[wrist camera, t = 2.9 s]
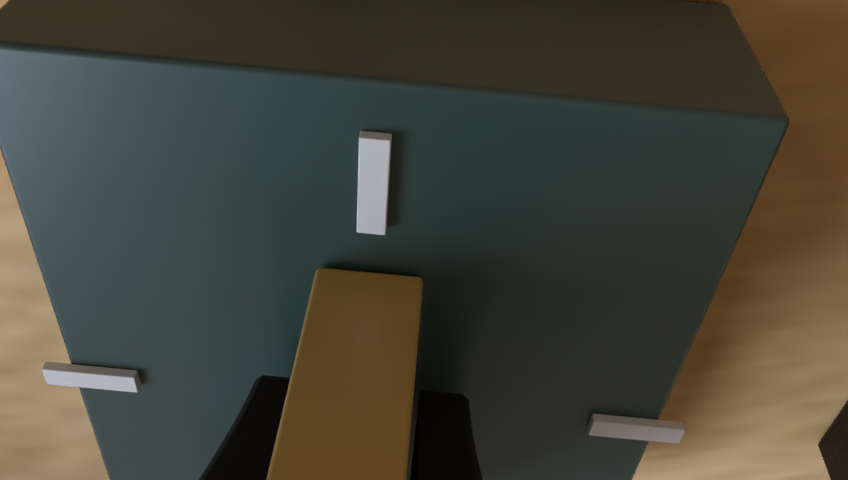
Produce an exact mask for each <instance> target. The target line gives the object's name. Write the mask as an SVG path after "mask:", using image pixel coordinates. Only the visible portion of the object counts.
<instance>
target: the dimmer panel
mask: <svg viewBox="0 0 848 480" xmlns="http://www.w3.org/2000/svg"><path fill="white" fill-rule="evenodd" d="M788 124H789V118H788V116H787V114H786V112H785V110H784V109H783V107H782V105H781V103H780V101H779V99H778V97H777V96H776V94H775V92H774V90H773V88H772V86H771V84H770V83H769V81H768V79H767V77H766V75H765V73H764V71H763V70H762V68H761V66H760V64H759V62H758V60H757V58H756V57H755V55H754V53H753V51H752V49H751V47H750V45H749V44H748V42H747V40H746V38H745V36H744V34H743V32H742V31H741V29H740V27H739V25H738V23H737V21H736V19H735V18H734V16H733V14H732V12H731V10H730V8H729V7H728V6H726V5H725V4H715V3H704V2H694V1H684V0H9V1H8V2H7V3H6V4H5V5H4V6H3V7H2V8H0V149H1V152H2V155H3V158H4V161H5V164H6V167H7V170H8V173H9V176H10V179H11V182H12V185H13V188H14V191H15V194H16V197H17V200H18V203H19V206H20V209H21V212H22V215H23V218H24V221H25V224H26V227H27V230H28V234H29V237H30V240H31V243H32V246H33V249H34V252H35V255H36V258H37V261H38V264H39V267H40V270H41V273H42V276H43V279H44V282H45V285H46V288H47V291H48V294H49V297H50V300H51V303H52V306H53V309H54V312H55V315H56V318H57V321H58V324H59V327H60V330H61V333H62V336H63V339H64V342H65V345H66V348H67V352H68V355H69V358H70V361H71V364H65V363H54V362H45V364H44V366H43V368H42V372H43V374H44V377H45V380H46V383H47V384H51V385H62V386H73V387H79V388H80V391H81V394H82V397H83V400H84V403H85V406H86V409H87V412H88V415H89V418H90V421H91V424H92V427H93V430H94V433H95V436H96V439H97V442H98V445H99V448H100V451H101V454H102V457H103V460H104V463H105V466H106V469H107V473H108V476H109V479H110V480H199V478H200V477H201V475H202V474H203V472H204V471H205V469H206V468H207V466H208V464H209V463H210V461H211V460H212V458H213V456H214V455H215V453H216V451H217V450H218V448H219V446H220V445H221V443H222V441H223V440H224V438H225V437H226V435H227V433H228V431H229V430H230V428H231V426H232V424H233V423H234V421H235V419H236V417H237V415H238V414H239V412H240V410H241V408H242V406H243V404H244V402H245V400H246V398H247V396H248V394H249V392H250V390H251V388H252V386H253V384H254V382H255V380H256V379H257V378H259V377H261V376H262V375H267V376H278V377H288V378H291V374H292V370H293V365H294V361H295V357H296V353H297V348H298V344H299V340H300V336H301V332H302V327H303V323H304V319H305V315H306V311H307V306H308V302H309V298H310V294H311V290H312V285H313V281H314V277H315V273H316V271H317V269H318V268H332V269H342V270H353V271H363V272H374V273H384V274H395V275H405V276H416V277H420V278H422V281H423V291H422V302H421V314H420V326H419V337H418V349H417V360H416V372H415V384H414V395H413V407H412V419H411V430H410V442H409V453H408V465H407V477H406V480H410V474H411V465H412V456H413V447H414V438H415V429H416V421H417V412H418V403H419V394H420V390H426V391H436V392H447V393H457V394H463V395H464V396H465V397H466V398H467V399H468V400H469V408H470V417H471V424H472V431H473V437H474V443H475V448H476V452H477V457H478V462H479V466H480V470H481V475H482V479H483V480H632V478H633V475H634V473H635V471H636V469H637V466H638V464H639V462H640V460H641V457H642V455H643V453H644V450H645V448H646V446H647V444H648V441H654V442H665V443H676V444H679V442H680V440H681V438H682V436H683V434H684V432H685V426H684V423H683V422H677V421H667V420H658V419H659V417H660V414H661V412H662V410H663V408H664V405H665V403H666V401H667V399H668V396H669V394H670V392H671V390H672V387H673V385H674V383H675V380H676V378H677V376H678V374H679V371H680V369H681V367H682V365H683V362H684V360H685V358H686V356H687V353H688V351H689V349H690V347H691V344H692V342H693V340H694V338H695V335H696V333H697V331H698V329H699V326H700V324H701V322H702V319H703V317H704V315H705V313H706V310H707V308H708V306H709V304H710V301H711V299H712V297H713V295H714V292H715V290H716V288H717V286H718V283H719V281H720V279H721V277H722V274H723V272H724V270H725V268H726V265H727V263H728V261H729V258H730V256H731V254H732V252H733V249H734V247H735V245H736V243H737V240H738V238H739V236H740V234H741V231H742V229H743V227H744V225H745V222H746V220H747V218H748V216H749V213H750V211H751V209H752V207H753V204H754V202H755V200H756V198H757V195H758V193H759V191H760V188H761V186H762V184H763V182H764V179H765V177H766V175H767V173H768V170H769V168H770V166H771V164H772V161H773V159H774V157H775V155H776V152H777V150H778V148H779V146H780V143H781V141H782V139H783V137H784V134H785V132H786V130H787V127H788Z"/></svg>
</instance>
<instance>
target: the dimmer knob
mask: <svg viewBox="0 0 848 480" xmlns="http://www.w3.org/2000/svg"><path fill="white" fill-rule="evenodd" d="M422 291H423V281H422V278H420V277H416V276H405V275H395V274H384V273H374V272H363V271H353V270H342V269H332V268H318V269H317V271H316V273H315V277H314V281H313V285H312V290H311V294H310V298H309V302H308V306H307V311H306V315H305V319H304V323H303V327H302V332H301V336H300V340H299V344H298V348H297V353H296V357H295V361H294V365H293V370H292V374H291V378H290V382H289V386H288V391H287V395H286V399H285V403H284V407H283V412H282V416H281V420H280V424H279V428H278V433H277V437H276V441H275V445H274V450H273V454H272V458H271V462H270V466H269V471H268V475H267V479H266V480H406V477H407V465H408V453H409V442H410V430H411V419H412V407H413V395H414V384H415V372H416V360H417V349H418V337H419V326H420V314H421V302H422Z"/></svg>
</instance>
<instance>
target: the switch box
mask: <svg viewBox="0 0 848 480" xmlns="http://www.w3.org/2000/svg"><path fill="white" fill-rule="evenodd" d="M818 446H819V449H820V452H821V454H822V457H823V460H824V462H825V465H826V468H827V470H828V473H829V476H830V478H831V480H848V401H847V403H846V404H845V405H844V407H843V408H842V410H841V411H840V413H839V414H838V416H837V417H836V419H835V420H834V422H833V423H832V425H831V426H830V427H829V429H828V430H827V432H826V433H825V435H824V436H823V438H822V439H821V441H820V442H819V444H818Z"/></svg>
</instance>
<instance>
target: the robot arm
mask: <svg viewBox="0 0 848 480" xmlns="http://www.w3.org/2000/svg"><path fill="white" fill-rule="evenodd" d="M289 382H290V378H288V377H278V376H267V375H262V376H261V377H259V378H257V379H256V380H255V382H254V384H253V386H252V388H251V390H250V392H249V394H248V396H247V398H246V400H245V402H244V404H243V406H242V408H241V410H240V412H239V414H238V415H237V417H236V419H235V421H234V423H233V424H232V426H231V428H230V430H229V431H228V433H227V435H226V437H225V438H224V440H223V441H222V443H221V445H220V446H219V448H218V450H217V451H216V453H215V455H214V456H213V458H212V460H211V461H210V463H209V464H208V466H207V468H206V469H205V471H204V472H203V474H202V475H201V477H200V478H199V480H266V479H267V475H268V471H269V466H270V462H271V458H272V454H273V450H274V445H275V441H276V437H277V433H278V428H279V424H280V420H281V416H282V412H283V407H284V403H285V399H286V395H287V391H288V386H289ZM410 480H483V479H482V475H481V470H480V466H479V462H478V457H477V452H476V448H475V443H474V437H473V431H472V424H471V417H470V408H469V400H468V399H467V398H466V397H465V396H464V395H463V394H457V393H447V392H436V391H426V390H420V394H419V403H418V412H417V421H416V429H415V438H414V447H413V456H412V465H411V474H410Z"/></svg>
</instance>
